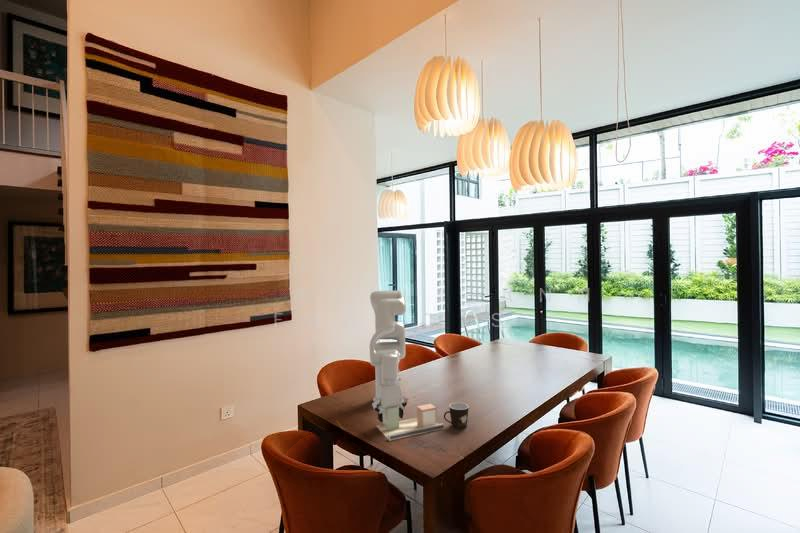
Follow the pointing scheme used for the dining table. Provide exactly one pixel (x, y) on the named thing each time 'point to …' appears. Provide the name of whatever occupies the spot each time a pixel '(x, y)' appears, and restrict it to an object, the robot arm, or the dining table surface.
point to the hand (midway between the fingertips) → (390, 419)
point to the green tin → (391, 418)
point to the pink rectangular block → (426, 415)
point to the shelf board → (408, 429)
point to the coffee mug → (458, 415)
